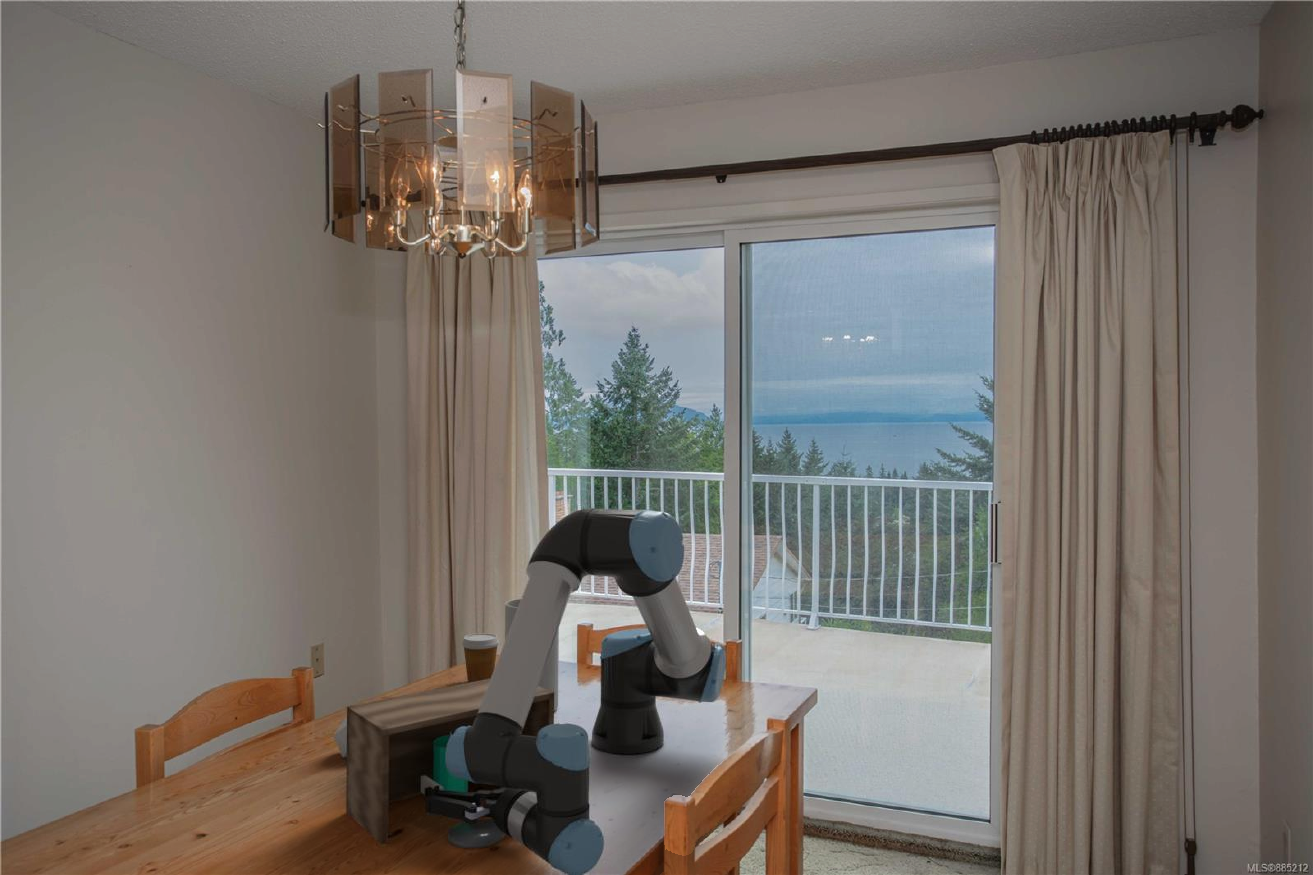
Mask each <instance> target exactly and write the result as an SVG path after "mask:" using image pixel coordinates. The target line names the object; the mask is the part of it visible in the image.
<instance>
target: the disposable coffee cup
mask: <svg viewBox="0 0 1313 875" xmlns="http://www.w3.org/2000/svg"><path fill="white" fill-rule="evenodd" d="M499 643H500V640H499V637H498V635H497V634H494V633H490V632H489V633H488V632H487V633H486V632H481V633H480V632H479V633H478V632H477V633H471V634H467V635H465V636H464V637H463V639H462V642H461V645H462V647H463V650H464V660H465V662H464V663H465V670H466V676H467V683H470V682H475V681H481V680H486V679H491V677H492V674H493V672H494V669H495V666H496V659H497V652H498V646H499Z"/></svg>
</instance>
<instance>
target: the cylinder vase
mask: <svg viewBox="0 0 1313 875" xmlns="http://www.w3.org/2000/svg"><path fill="white" fill-rule="evenodd" d="M520 601H521V598H516V599H511V600H508V601H505V603H504V641H505V640H506V638H507V635H508V632H509V630H510V627H511V625H512V622H513V619H514V617H515V614H516V612H517V609H518V606H519V604H520ZM559 631H560V627H559V628H558V631H557V634H556V637H555V640H554V643H553V645H552V648H551V651H550V654H549V657H548V660H547V662H546V665H545V668H544V671H543V674H542V677H541V680H540V682H539V685H538V686H540V687H542V688H545V689H547V690H550V691H552V692H554V712H556V711H557V710H558V707H559V660H560V657H559V653H560V650H559V648H560V647H559V644H560V640H559V639H560V638H559V637H560V634H559V633H560V632H559Z"/></svg>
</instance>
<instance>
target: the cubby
mask: <svg viewBox="0 0 1313 875" xmlns="http://www.w3.org/2000/svg"><path fill="white" fill-rule="evenodd" d="M490 680H491V679H486V680H481V681H475V682H470V683H468V682H467V683H466V682H464V683H460V684H455V685H451V686H446V687H442V688H441V687H440V688H435V689H430V690H425V691H420V692H415V693H410V694H406V695H399V696H395V697H390V698H384V699H379V700H373V701H369V702H364V703H358V704H354V705H349V706H347V707H346V716H347V758H346V770H345V771H346V772H345V773H346V782H345V785H346V786H345V788H346V790H345V793H346V794H345V797H346V798H345V808H346V809H345V813H346V814H347V815H348V816H349V817H350V818H352V819H353V820H354V821H355V822H356V823H357V824H358V825H360V826H361V827H362V828H363V829H364V830H365V831H366V832H367V833H369V834H370V836H372V838H374V839H375V840H376V841H377V842H379V843H380V844H381V845H386V844H389V804H391V803H394V802H398V801H403V800H406V799H409V798H413V797H416V796H420V795H423V794H422V793H421V776H424V775H426V776H427V777H429V778H430V779H432V780H433V741H434V740H435V739H437V738H439V737H442V736H447V735H450V732H451V734H454V732H455V730H456V729H458V728H459V727H462V726H466V727H467V726H473V723H474V721H475V718H476V716H477V714H478V711H479V708H480V706H481V703H482V701H483V698H484V695H485V693H486V690H487V687H488V685H489V682H490ZM551 724H555V711H554V692H552V691H550V690H547V689H545V688H542V687H540V686H538V688H537V691H536V694H535V697H534V699H533V702H532V705H531V708H530V711H529V714H528V717H527V719H526V722H525V725H524V728H523V732H522V734H521V735H528V736H534V737H537V735H538V732H539V731H540V730H541V729H542V728H543V727H545V726H548V725H551Z"/></svg>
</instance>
